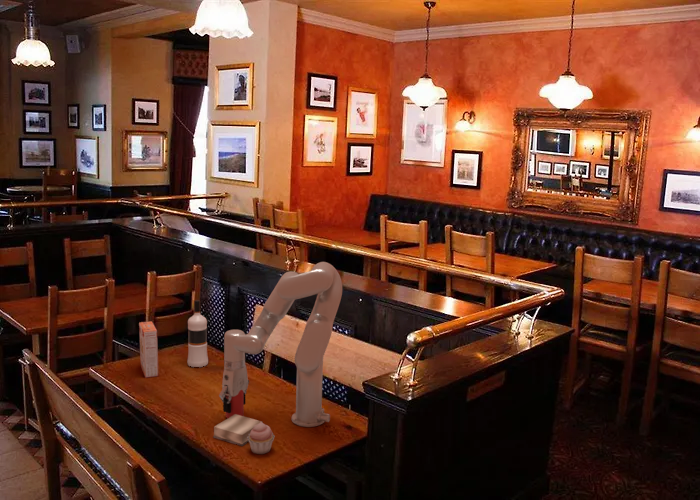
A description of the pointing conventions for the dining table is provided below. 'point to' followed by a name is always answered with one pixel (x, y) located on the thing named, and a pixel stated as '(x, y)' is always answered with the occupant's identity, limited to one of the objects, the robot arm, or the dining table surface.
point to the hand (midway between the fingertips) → (234, 407)
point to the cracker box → (148, 349)
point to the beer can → (236, 404)
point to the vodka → (197, 338)
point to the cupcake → (261, 438)
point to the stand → (235, 429)
